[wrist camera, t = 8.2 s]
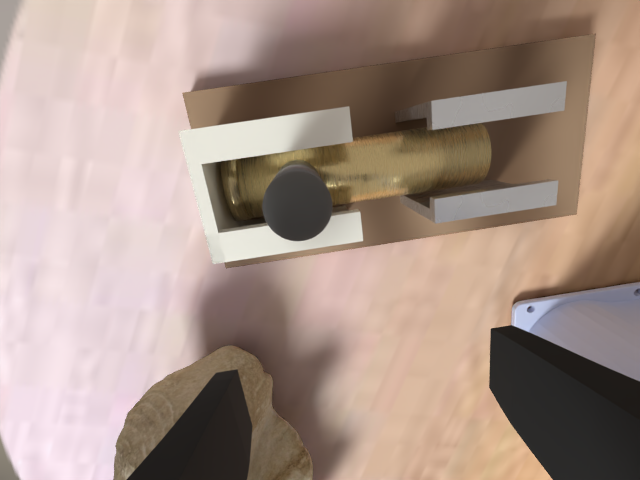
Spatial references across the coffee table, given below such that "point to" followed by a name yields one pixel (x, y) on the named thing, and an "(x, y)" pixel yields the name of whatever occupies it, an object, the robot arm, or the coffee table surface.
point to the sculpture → (180, 391)
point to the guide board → (443, 112)
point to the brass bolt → (351, 175)
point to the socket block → (254, 140)
